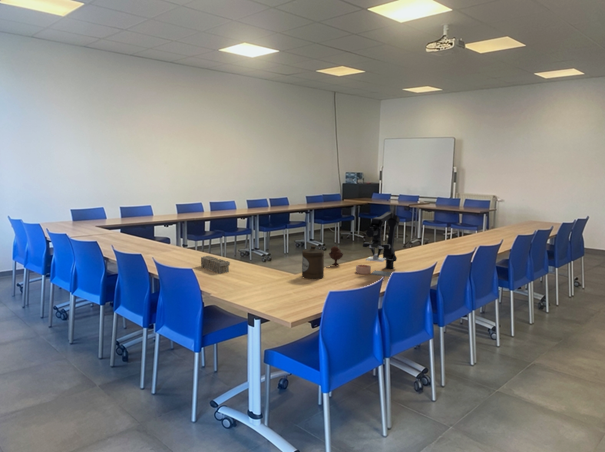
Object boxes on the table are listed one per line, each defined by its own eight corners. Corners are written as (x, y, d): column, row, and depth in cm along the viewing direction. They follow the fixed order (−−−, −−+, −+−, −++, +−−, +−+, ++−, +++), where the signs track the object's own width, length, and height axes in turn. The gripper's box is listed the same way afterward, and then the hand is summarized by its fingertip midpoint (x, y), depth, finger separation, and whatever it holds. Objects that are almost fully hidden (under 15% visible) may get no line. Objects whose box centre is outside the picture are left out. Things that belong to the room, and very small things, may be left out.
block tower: (200, 268, 320) (220, 274, 298) (199, 256, 319) (219, 262, 297) (209, 266, 325) (230, 272, 304) (209, 255, 325) (229, 260, 303)
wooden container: (301, 274, 301) (301, 243, 298) (322, 274, 303) (322, 243, 300) (302, 279, 287) (303, 247, 284) (325, 279, 288) (325, 247, 285)
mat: (374, 270, 315) (374, 270, 315) (393, 273, 309) (393, 272, 309) (369, 275, 302) (369, 274, 302) (389, 277, 297) (389, 276, 296)
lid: (369, 257, 313) (369, 252, 312) (386, 258, 308) (386, 253, 308) (365, 260, 302) (365, 255, 301) (382, 261, 297) (382, 256, 297)
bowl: (358, 270, 315) (358, 264, 314) (372, 272, 310) (372, 265, 310) (354, 273, 306) (354, 266, 305) (367, 275, 301) (368, 268, 301)
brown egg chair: (342, 267, 326) (342, 247, 324) (327, 266, 328) (328, 246, 326) (343, 264, 336) (344, 245, 334) (329, 263, 338) (329, 244, 336)
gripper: (361, 236, 299) (360, 258, 301) (387, 238, 292) (386, 260, 294) (364, 234, 309) (364, 255, 311) (390, 236, 302) (390, 258, 304)
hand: (376, 257), depth 305 cm, fingers closed on lid, 2 cm apart
